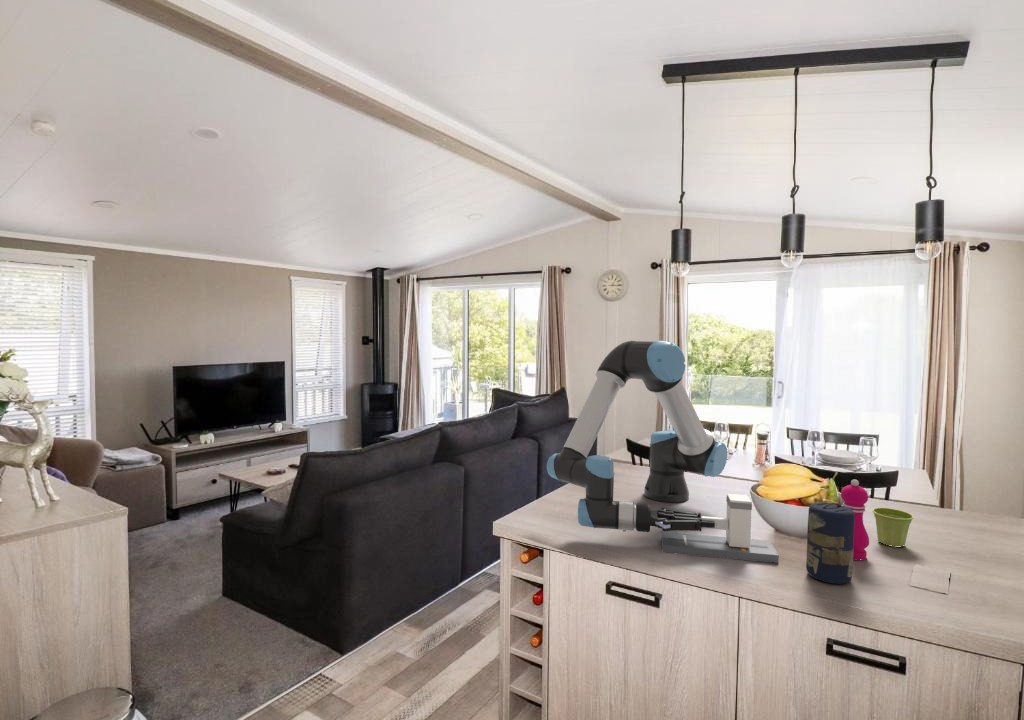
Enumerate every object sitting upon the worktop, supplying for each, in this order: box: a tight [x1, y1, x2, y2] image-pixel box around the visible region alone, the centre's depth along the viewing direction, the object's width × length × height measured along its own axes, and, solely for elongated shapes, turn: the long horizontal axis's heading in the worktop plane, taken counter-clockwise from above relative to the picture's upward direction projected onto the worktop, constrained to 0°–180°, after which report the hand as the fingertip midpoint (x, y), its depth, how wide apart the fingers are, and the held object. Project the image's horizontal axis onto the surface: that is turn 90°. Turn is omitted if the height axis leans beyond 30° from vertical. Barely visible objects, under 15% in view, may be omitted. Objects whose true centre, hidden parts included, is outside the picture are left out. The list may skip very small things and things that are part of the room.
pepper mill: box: [840, 479, 870, 561], centre depth 144 cm, size 7×7×20 cm
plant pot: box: [871, 507, 915, 546], centre depth 153 cm, size 9×9×9 cm
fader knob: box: [725, 493, 753, 548], centre depth 146 cm, size 5×6×12 cm
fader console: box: [660, 531, 780, 564], centre depth 147 cm, size 28×10×2 cm, turn 77°
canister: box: [805, 501, 855, 585], centre depth 131 cm, size 10×10×18 cm
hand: (727, 524), depth 146 cm, fingers closed
